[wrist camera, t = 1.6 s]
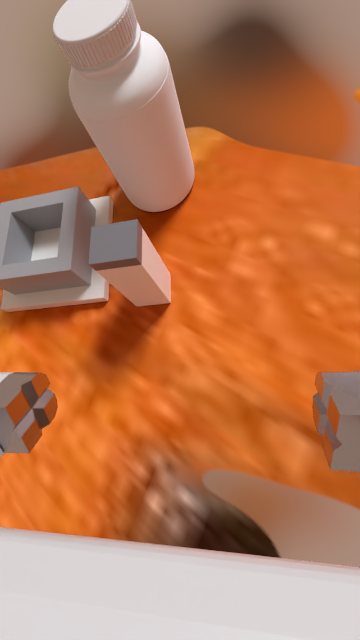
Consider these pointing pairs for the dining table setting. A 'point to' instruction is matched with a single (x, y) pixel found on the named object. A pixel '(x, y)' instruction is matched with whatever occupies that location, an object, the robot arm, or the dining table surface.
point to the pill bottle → (126, 100)
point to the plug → (130, 262)
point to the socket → (51, 250)
